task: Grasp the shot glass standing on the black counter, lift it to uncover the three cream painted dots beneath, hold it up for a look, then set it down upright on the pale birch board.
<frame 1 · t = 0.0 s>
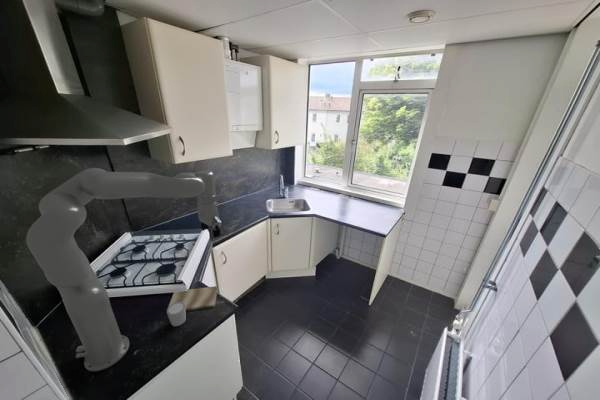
hand: (210, 232, 103), 31 cm above the worktop, tool pointing down, fingers open, 9 cm apart
birch board: (194, 299, 105), on the worktop
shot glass: (178, 320, 95), on the worktop, touching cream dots
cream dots: (178, 320, 95), on the worktop
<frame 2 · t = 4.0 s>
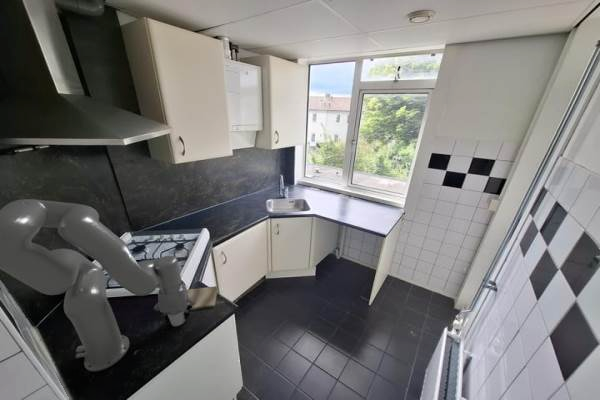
hand: (178, 318, 94), 1 cm above the worktop, tool pointing down, fingers closed on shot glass, 6 cm apart
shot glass: (178, 320, 95), on the worktop, touching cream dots, gripper
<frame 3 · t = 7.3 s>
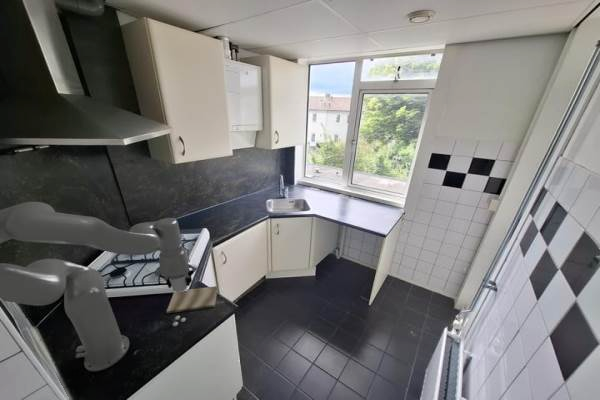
hand: (180, 284, 93), 16 cm above the worktop, tool pointing down, fingers closed on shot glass, 6 cm apart
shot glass: (180, 287, 93), point 15 cm above the worktop, touching gripper
when the fingers open (3 cm above the worktop, at t = 11.0 s): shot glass moves 1 cm, resting on birch board.
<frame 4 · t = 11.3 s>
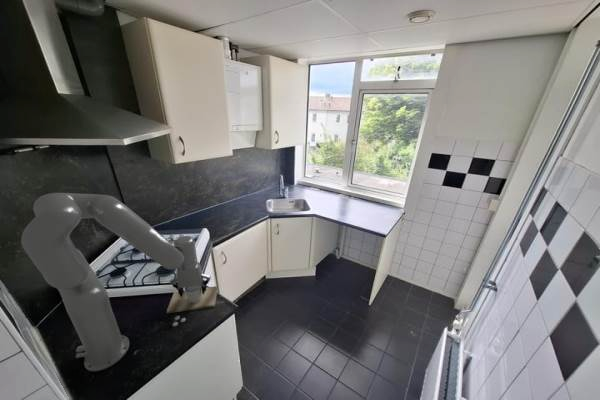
hand: (193, 293, 104), 4 cm above the worktop, tool pointing down, fingers open, 9 cm apart
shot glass: (195, 298, 105), point 1 cm above the worktop, touching birch board
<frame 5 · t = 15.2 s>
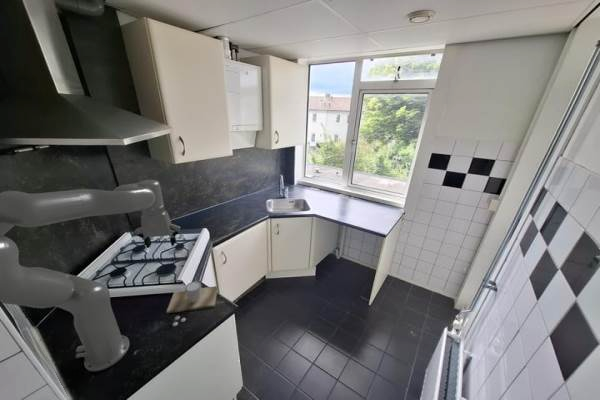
hand: (161, 245, 97), 28 cm above the worktop, tool pointing down, fingers open, 9 cm apart
nothing on the worktop moved.
at the end: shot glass inside the target area on the birch board (0.5 cm from its centre), point 1.0 cm above the birch board's base; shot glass tilted 0°; the gripper is holding nothing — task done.
